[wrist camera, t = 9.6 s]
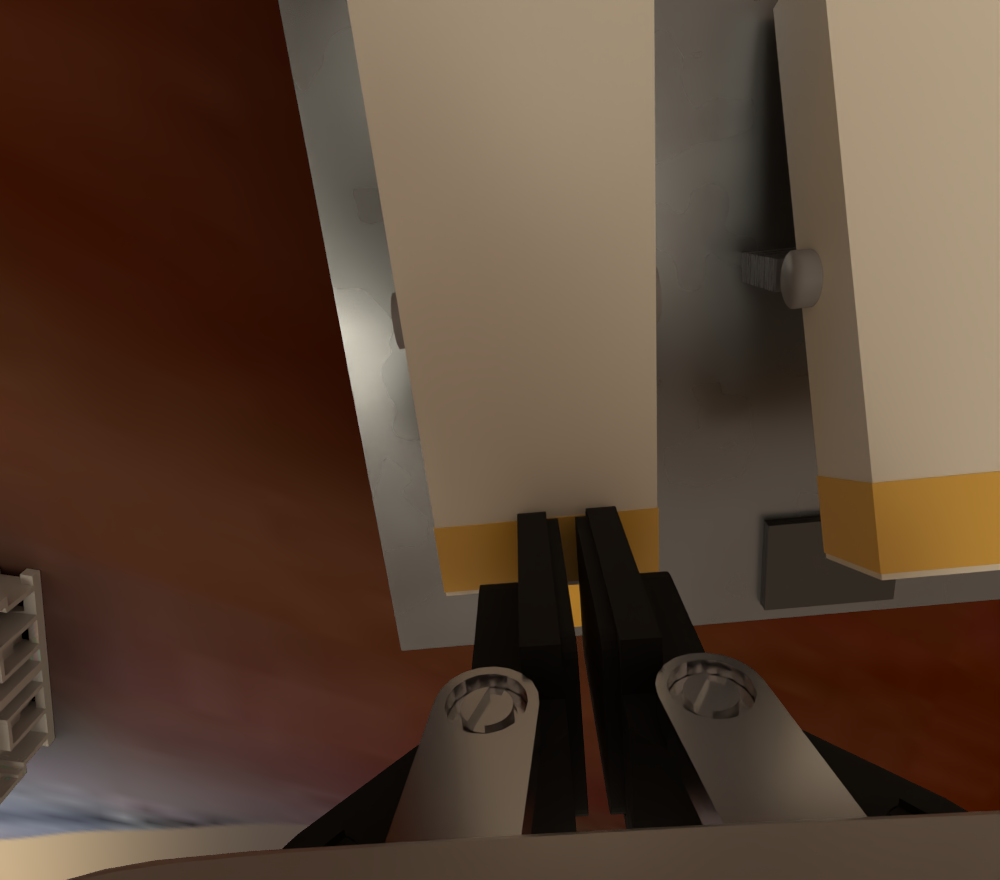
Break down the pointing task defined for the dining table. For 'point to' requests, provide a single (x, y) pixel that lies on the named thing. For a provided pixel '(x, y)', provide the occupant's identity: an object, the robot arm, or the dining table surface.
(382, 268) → the console
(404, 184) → the block
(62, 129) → the dining table surface
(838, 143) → the rocker
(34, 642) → the circuit breaker
